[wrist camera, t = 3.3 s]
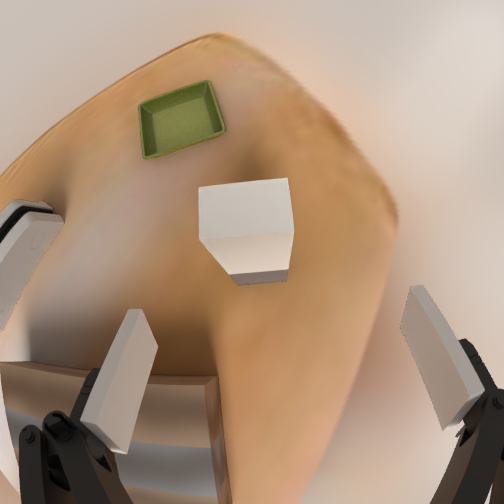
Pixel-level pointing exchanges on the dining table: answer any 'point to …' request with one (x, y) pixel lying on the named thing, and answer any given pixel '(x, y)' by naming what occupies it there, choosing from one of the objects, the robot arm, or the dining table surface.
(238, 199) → the rail end
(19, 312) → the dining table surface
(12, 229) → the grey curved slotted block
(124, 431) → the robot arm
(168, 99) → the olive green shallow tray
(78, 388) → the post foot
